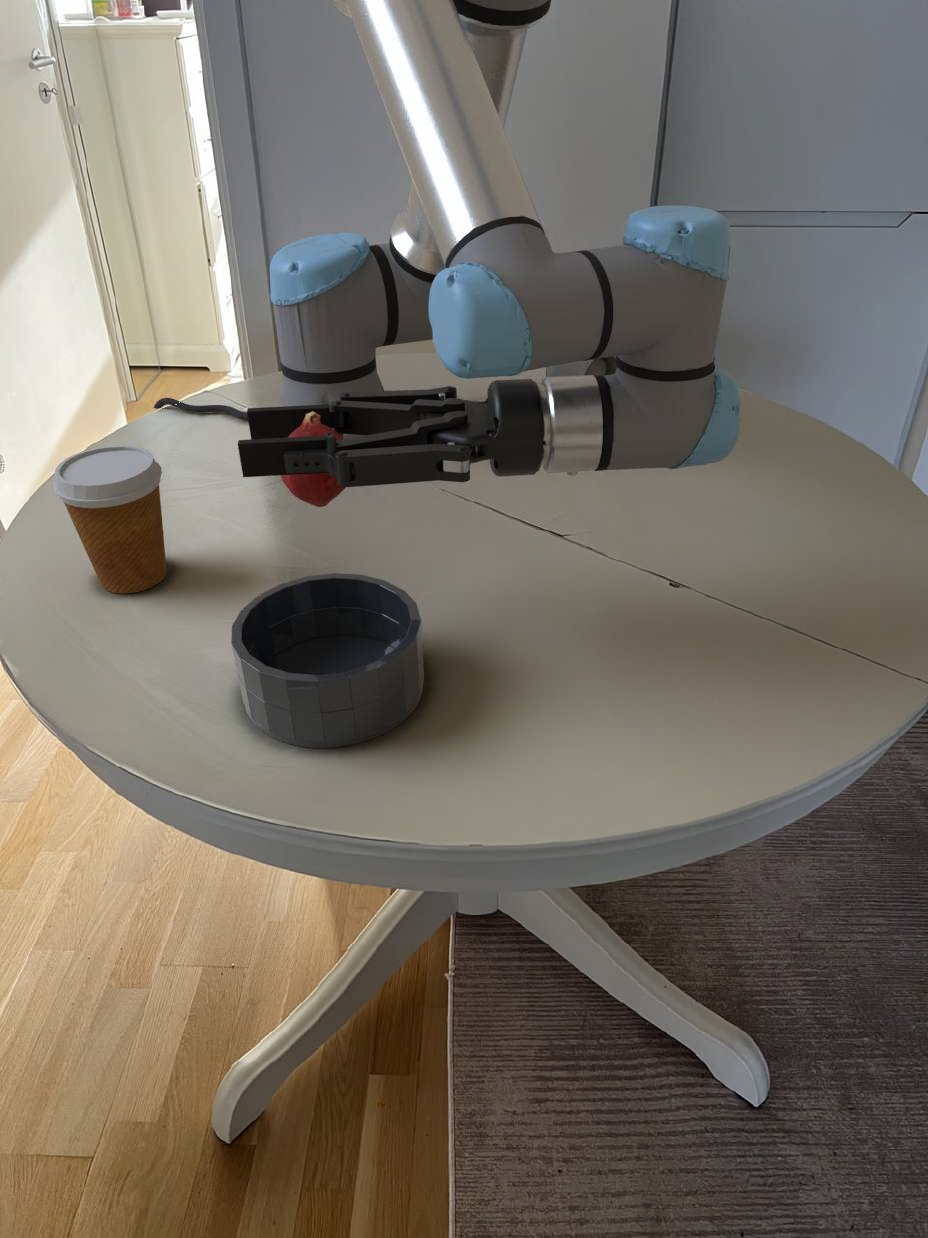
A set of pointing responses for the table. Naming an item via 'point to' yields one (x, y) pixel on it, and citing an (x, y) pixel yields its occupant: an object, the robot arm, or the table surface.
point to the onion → (317, 485)
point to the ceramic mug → (584, 368)
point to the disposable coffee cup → (116, 514)
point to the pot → (329, 659)
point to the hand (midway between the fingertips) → (246, 441)
